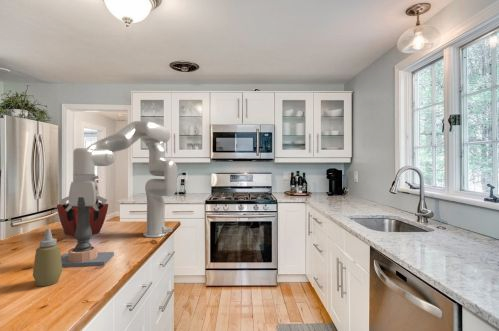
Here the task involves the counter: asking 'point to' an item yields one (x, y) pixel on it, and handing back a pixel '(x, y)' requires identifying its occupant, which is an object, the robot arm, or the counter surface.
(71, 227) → the plant pot
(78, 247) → the candle holder
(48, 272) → the squeeze bottle
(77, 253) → the socket board
